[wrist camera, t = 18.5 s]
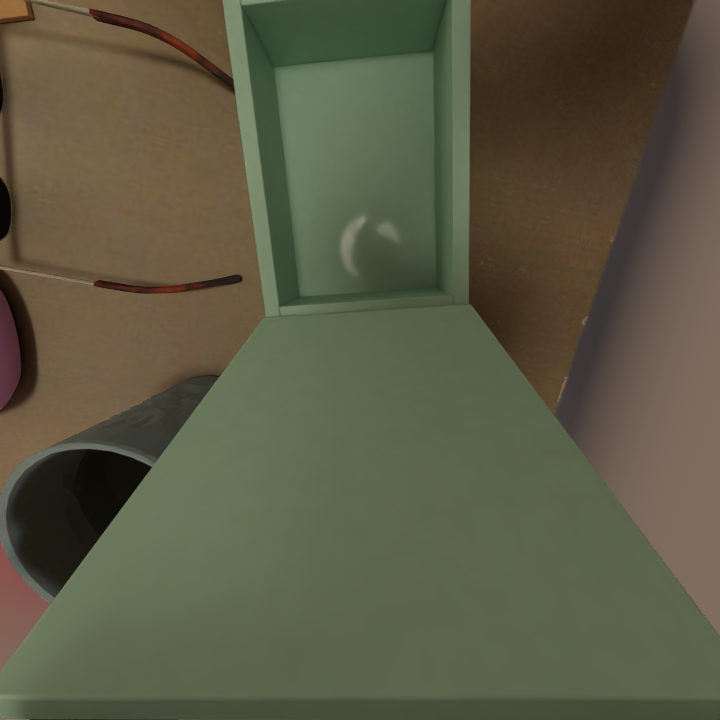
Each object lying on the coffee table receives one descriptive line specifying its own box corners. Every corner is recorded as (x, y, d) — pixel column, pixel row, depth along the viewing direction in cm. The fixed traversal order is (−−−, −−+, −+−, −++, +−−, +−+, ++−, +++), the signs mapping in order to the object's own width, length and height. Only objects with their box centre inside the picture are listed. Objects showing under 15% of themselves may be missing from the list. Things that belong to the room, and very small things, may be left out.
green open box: (262, 59, 22) (219, -16, 16) (444, 40, 21) (471, -46, 15) (291, 308, 25) (266, 322, 19) (447, 297, 25) (469, 309, 19)
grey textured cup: (134, 377, 27) (-45, 464, 16) (264, 352, 26) (176, 425, 15) (178, 494, 30) (52, 644, 18) (298, 475, 29) (246, 620, 17)
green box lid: (-23, 698, 5) (121, 822, 8) (770, 698, 5) (647, 833, 7) (262, 317, 19) (281, 406, 21) (471, 303, 18) (465, 397, 21)
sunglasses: (-8, 21, 22) (-111, -46, 17) (264, 80, 23) (241, 32, 18) (9, 259, 25) (-71, 260, 21) (244, 300, 26) (219, 310, 22)
